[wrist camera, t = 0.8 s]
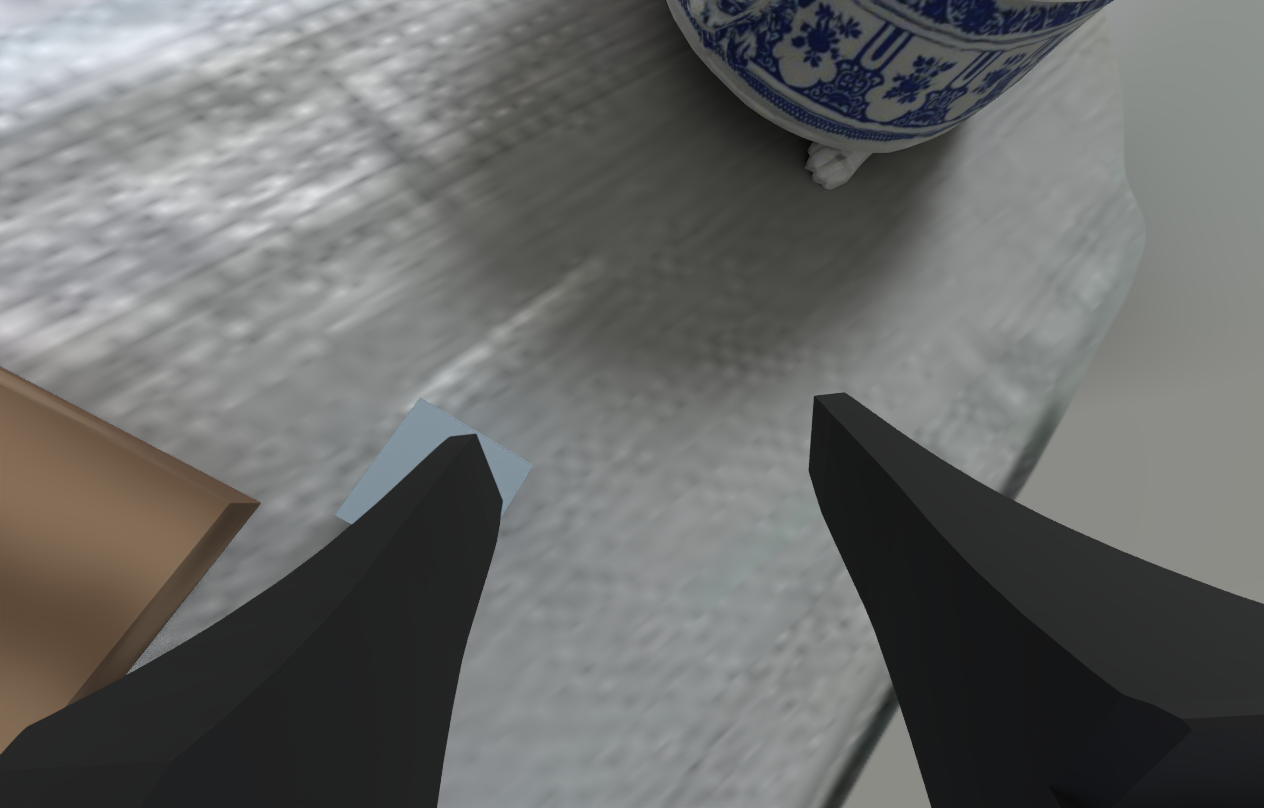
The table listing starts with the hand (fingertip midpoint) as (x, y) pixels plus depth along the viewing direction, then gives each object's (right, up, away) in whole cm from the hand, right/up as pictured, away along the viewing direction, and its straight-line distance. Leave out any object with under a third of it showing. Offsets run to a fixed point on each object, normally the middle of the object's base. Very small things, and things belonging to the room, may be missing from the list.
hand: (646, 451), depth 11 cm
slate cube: (-9, -3, +13) cm, 16 cm away
